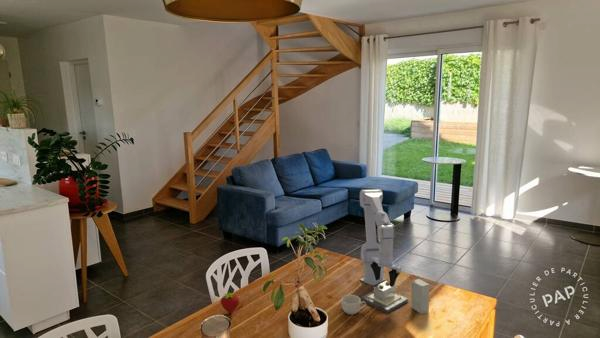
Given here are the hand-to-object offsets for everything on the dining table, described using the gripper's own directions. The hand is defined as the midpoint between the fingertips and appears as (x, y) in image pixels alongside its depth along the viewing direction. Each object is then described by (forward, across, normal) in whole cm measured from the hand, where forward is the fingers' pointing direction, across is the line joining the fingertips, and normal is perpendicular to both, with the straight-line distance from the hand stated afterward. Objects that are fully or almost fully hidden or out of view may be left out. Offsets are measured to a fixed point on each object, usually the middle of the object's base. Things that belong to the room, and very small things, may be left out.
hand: (384, 282), depth 165 cm
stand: (+8, 0, 0) cm, 8 cm away
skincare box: (+9, +14, +5) cm, 17 cm away
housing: (+6, 0, 0) cm, 6 cm away
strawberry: (+9, -35, -55) cm, 66 cm away
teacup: (+9, -3, -16) cm, 19 cm away
